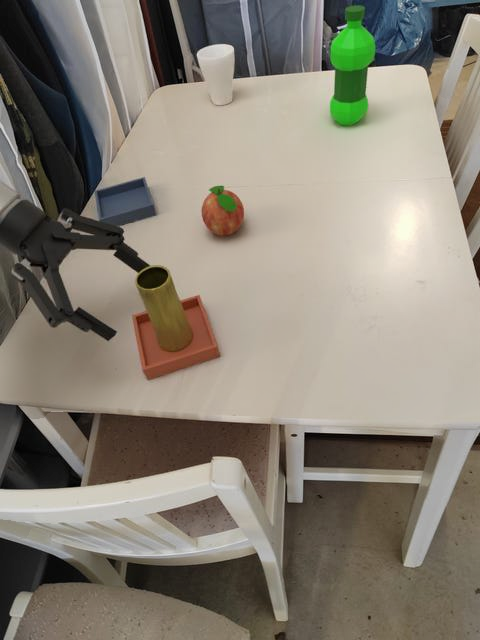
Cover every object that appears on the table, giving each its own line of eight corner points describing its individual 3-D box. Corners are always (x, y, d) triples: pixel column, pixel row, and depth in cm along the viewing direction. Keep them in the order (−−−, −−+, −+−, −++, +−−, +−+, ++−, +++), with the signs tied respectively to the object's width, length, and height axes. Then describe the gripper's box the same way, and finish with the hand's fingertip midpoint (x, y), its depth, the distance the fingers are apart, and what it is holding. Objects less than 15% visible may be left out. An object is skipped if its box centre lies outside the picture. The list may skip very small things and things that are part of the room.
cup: (219, 112, 128) (211, 62, 117) (198, 103, 134) (189, 54, 123) (247, 98, 131) (241, 48, 121) (225, 90, 137) (218, 41, 127)
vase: (186, 354, 72) (165, 294, 61) (152, 349, 74) (125, 290, 63) (197, 325, 76) (178, 264, 65) (164, 321, 77) (140, 261, 66)
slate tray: (103, 230, 98) (98, 220, 96) (98, 200, 106) (94, 190, 104) (156, 214, 99) (153, 204, 97) (147, 187, 107) (144, 176, 105)
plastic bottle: (328, 131, 113) (331, 19, 94) (328, 112, 120) (331, 3, 101) (368, 129, 112) (380, 14, 93) (366, 110, 118) (377, -2, 99)
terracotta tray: (147, 380, 71) (142, 370, 69) (136, 325, 79) (131, 315, 76) (220, 356, 72) (217, 346, 70) (202, 305, 80) (199, 294, 78)
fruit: (211, 248, 89) (201, 207, 82) (201, 221, 96) (191, 181, 88) (251, 237, 90) (246, 195, 83) (239, 211, 96) (233, 170, 89)
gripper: (48, 183, 73) (154, 260, 80) (-55, 291, 58) (85, 374, 66) (61, 154, 68) (173, 241, 75) (-49, 266, 53) (103, 360, 60)
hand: (132, 303), depth 70 cm, fingers open, 13 cm apart
